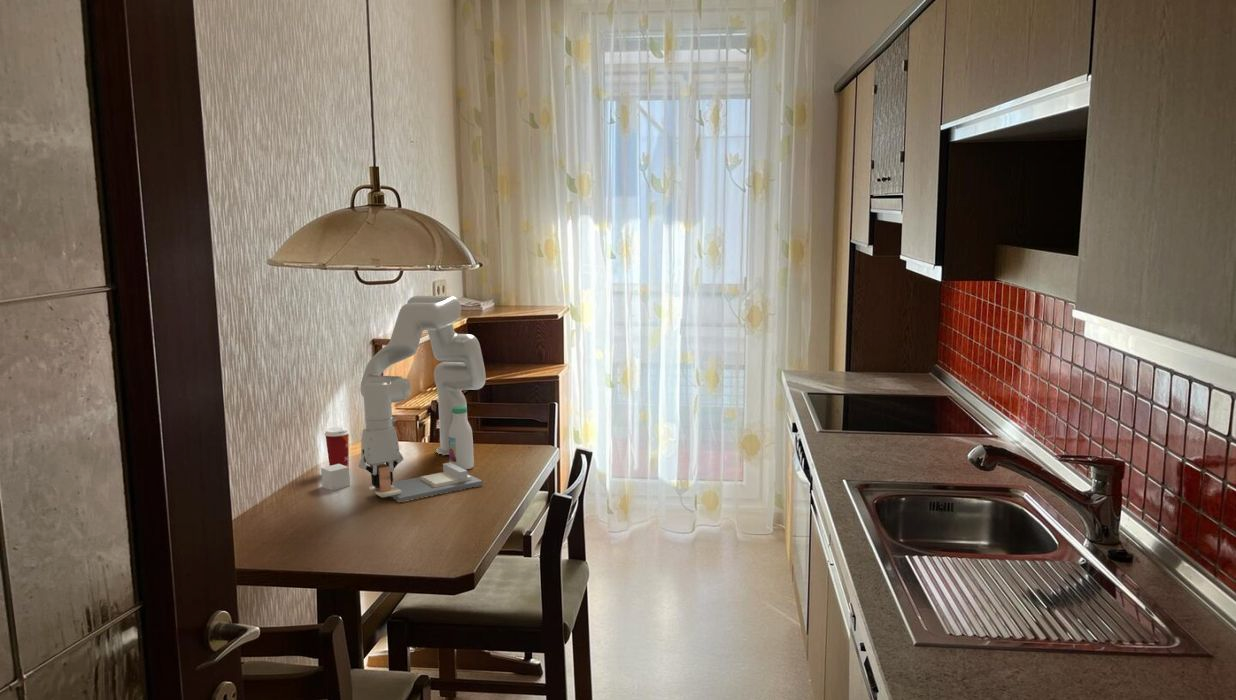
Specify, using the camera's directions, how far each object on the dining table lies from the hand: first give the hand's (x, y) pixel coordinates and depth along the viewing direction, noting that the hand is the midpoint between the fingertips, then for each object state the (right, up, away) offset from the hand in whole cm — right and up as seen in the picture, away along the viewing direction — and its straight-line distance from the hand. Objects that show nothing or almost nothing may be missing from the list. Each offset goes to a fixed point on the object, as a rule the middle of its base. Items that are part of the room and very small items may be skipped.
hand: (382, 485), depth 254 cm
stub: (+1, -2, +1) cm, 2 cm away
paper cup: (-21, 0, +28) cm, 35 cm away
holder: (+12, -2, +9) cm, 15 cm away
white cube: (-17, -3, +12) cm, 22 cm away
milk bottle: (+18, +1, +30) cm, 35 cm away
